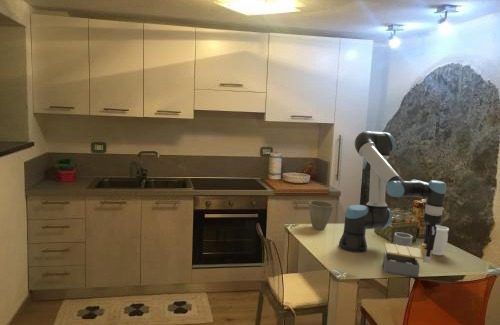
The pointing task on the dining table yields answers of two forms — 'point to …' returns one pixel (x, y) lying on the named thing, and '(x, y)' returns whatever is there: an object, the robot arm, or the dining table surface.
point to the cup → (402, 239)
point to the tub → (401, 265)
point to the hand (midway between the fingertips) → (425, 261)
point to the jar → (440, 240)
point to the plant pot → (320, 213)
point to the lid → (405, 250)
